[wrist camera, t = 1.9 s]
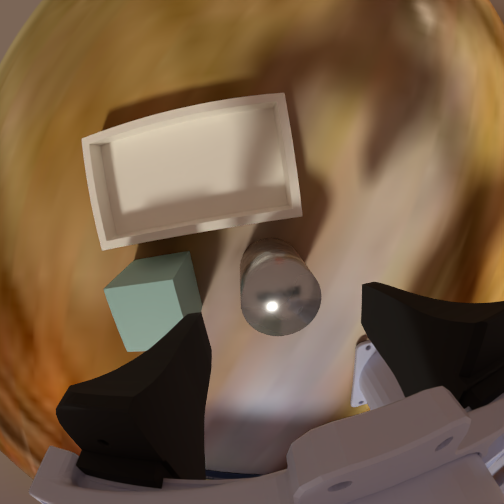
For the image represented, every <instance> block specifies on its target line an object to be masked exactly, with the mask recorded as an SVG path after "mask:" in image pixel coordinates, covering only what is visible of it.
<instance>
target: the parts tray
mask: <svg viewBox="0 0 504 504" xmlns="http://www.w3.org/2000/svg"><path fill="white" fill-rule="evenodd" d="M82 147H83V155H84V163H85V170H86V177H87V183H88V189H89V194H90V200H91V205H92V210H93V214H94V219H95V224H96V228H97V232H98V236H99V240H100V244H101V248H102V250H107V249H112V248H118V247H123V246H128V245H133V244H138V243H144V242H149V241H154V240H160V239H165V238H171V237H176V236H182V235H188V234H194V233H199V232H205V231H211V230H217V229H223V228H229V227H236V226H242V225H248V224H255V223H261V222H268V221H274V220H281V219H288V218H295V217H302V216H303V215H302V206H301V198H300V190H299V182H298V175H297V167H296V160H295V154H294V147H293V140H292V134H291V128H290V122H289V116H288V110H287V104H286V99H285V93H273V94H263V95H254V96H246V97H238V98H232V99H225V100H219V101H213V102H208V103H203V104H198V105H193V106H188V107H183V108H179V109H175V110H171V111H167V112H163V113H159V114H155V115H151V116H148V117H144V118H141V119H137V120H134V121H131V122H128V123H124V124H121V125H118V126H115V127H112V128H109V129H107V130H104V131H101V132H98V133H96V134H93V135H90V136H88V137H85V138H83V139H82Z"/></svg>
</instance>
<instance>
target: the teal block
mask: <svg viewBox="0 0 504 504" xmlns="http://www.w3.org/2000/svg"><path fill="white" fill-rule="evenodd" d="M104 292H105V295H106V298H107V301H108V304H109V307H110V309H111V312H112V315H113V317H114V320H115V323H116V325H117V328H118V330H119V333H120V335H121V338H122V340H123V342H124V345H125V347H126V349H127V352H134V351H147V350H148V349H150V348H151V347H152V346H153V345H154V344H155V343H157V342H158V341H159V340H160V339H161V338H162V337H164V336H165V335H166V334H167V333H168V332H169V331H170V330H171V329H172V328H173V327H174V326H175V325H176V324H177V323H178V322H179V321H180V320H181V319H182V318H183V317H184V316H186V315H187V314H189V313H197V312H201V309H202V302H201V298H200V294H199V290H198V286H197V282H196V277H195V273H194V269H193V264H192V260H191V255H190V251H185V252H179V253H173V254H167V255H161V256H155V257H149V258H143V259H137V260H134V261H133V262H132V263H131V264H129V265H128V266H127V267H126V268H125V269H124V270H123V271H122V272H121V273H120V274H119V275H118V276H117V277H115V278H114V279H113V280H112V281H111V282H110V283H109V284H108V285H107V286H106V287H105V288H104Z"/></svg>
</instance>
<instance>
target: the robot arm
mask: <svg viewBox="0 0 504 504" xmlns="http://www.w3.org/2000/svg"><path fill="white" fill-rule="evenodd" d="M361 324H362V326H363V328H364V330H365V332H366V334H367V336H368V338H369V340H368V341H364V342H361V343H359V344H358V345H357V346H356V352H355V365H354V376H353V386H352V395H351V406H352V407H357V406H360V405H364V404H368V406H369V408H370V411H367V412H364V413H361V414H357V415H354V416H351V417H347V418H344V419H340V420H336V421H332V422H330V423H327V424H324V425H322V426H319V427H316V428H314V429H311V430H309V431H308V432H307V433H305V434H304V435H302V436H301V437H300V438H298V439H297V440H295V441H294V442H293V443H292V444H291V446H290V448H289V450H288V453H287V455H286V458H287V465H288V467H287V469H284V470H281V471H278V472H274V473H270V474H267V475H263V476H259V477H255V478H243V479H226V480H206V473H205V454H204V415H205V405H206V399H207V393H208V386H209V380H210V374H211V360H212V350H211V346H210V343H209V339H208V335H207V332H206V328H205V324H204V321H203V317H202V313H201V312H197V313H189V314H187V315H186V316H184V317H183V318H182V319H181V320H180V321H179V322H178V323H177V324H176V325H175V326H174V327H173V328H172V329H171V330H170V331H169V332H168V333H167V334H166V335H165V336H164V337H162V338H161V339H160V340H159V341H158V342H157V343H155V344H154V345H153V346H152V347H151V348H150V349H148V350H147V351H146V352H144V353H143V354H141V355H140V356H138V357H137V358H135V359H134V360H132V361H130V362H129V363H127V364H125V365H123V366H121V367H120V368H118V369H116V370H114V371H112V372H109V373H107V374H105V375H102V376H100V377H97V378H95V379H92V380H89V381H85V382H82V383H78V384H75V385H71V386H69V388H68V390H67V391H66V393H65V394H64V396H63V398H62V399H61V401H60V403H59V404H58V406H57V408H56V415H57V418H58V420H59V423H60V424H61V426H62V427H63V428H64V430H65V431H66V432H67V433H68V434H69V436H70V437H71V438H72V439H73V440H74V441H75V443H76V444H77V445H78V446H79V447H80V448H81V449H82V451H81V453H80V456H78V455H76V454H75V453H73V452H70V451H67V450H64V449H60V448H57V447H54V446H49V448H48V450H47V452H46V454H45V456H44V459H43V461H42V463H41V465H40V467H39V469H38V471H37V473H36V476H35V478H34V480H33V482H32V485H31V487H30V489H29V494H30V495H32V496H33V497H34V498H35V499H37V500H38V501H40V502H41V503H42V504H504V301H500V302H492V303H458V302H449V301H443V300H437V299H432V298H428V297H424V296H420V295H417V294H413V293H410V292H407V291H404V290H401V289H398V288H395V287H392V286H389V285H385V284H382V283H378V282H371V283H366V284H362V314H361ZM368 345H369V346H368ZM367 346H368V347H367ZM366 347H367V348H366Z"/></svg>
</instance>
